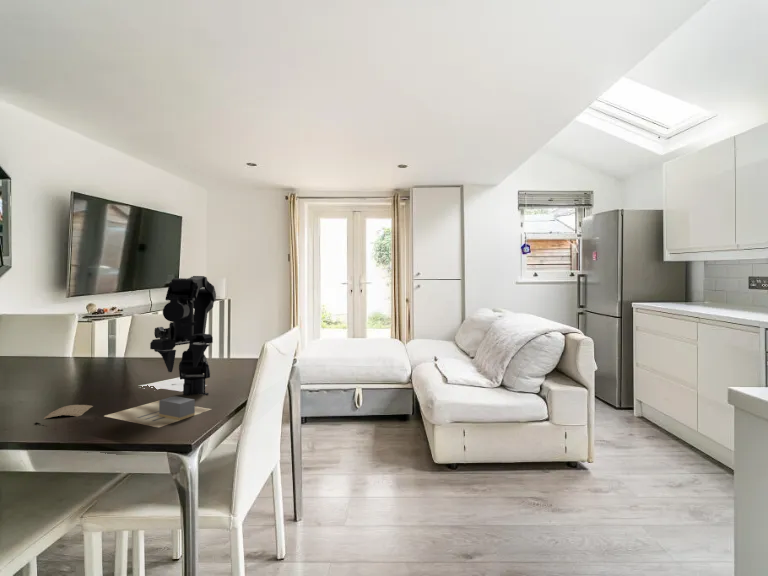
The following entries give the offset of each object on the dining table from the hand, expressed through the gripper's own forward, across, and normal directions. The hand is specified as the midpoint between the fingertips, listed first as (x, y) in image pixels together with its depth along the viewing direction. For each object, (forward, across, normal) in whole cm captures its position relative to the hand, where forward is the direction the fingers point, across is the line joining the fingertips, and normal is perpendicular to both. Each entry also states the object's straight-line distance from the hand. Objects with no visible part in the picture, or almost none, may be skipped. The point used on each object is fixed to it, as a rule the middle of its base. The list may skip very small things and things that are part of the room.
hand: (183, 369), depth 132 cm
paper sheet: (+13, -13, -28) cm, 33 cm away
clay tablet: (+13, +20, -22) cm, 32 cm away
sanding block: (+11, +9, +8) cm, 16 cm away
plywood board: (+12, +9, +1) cm, 15 cm away
